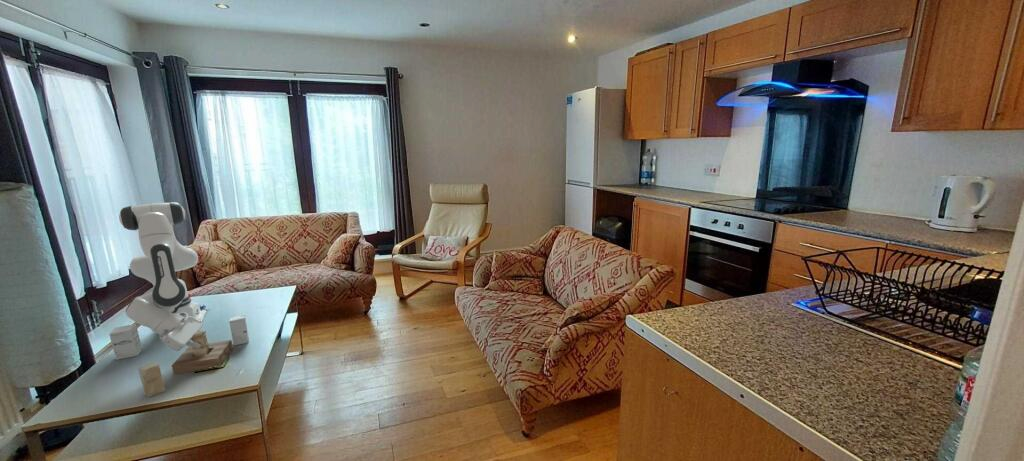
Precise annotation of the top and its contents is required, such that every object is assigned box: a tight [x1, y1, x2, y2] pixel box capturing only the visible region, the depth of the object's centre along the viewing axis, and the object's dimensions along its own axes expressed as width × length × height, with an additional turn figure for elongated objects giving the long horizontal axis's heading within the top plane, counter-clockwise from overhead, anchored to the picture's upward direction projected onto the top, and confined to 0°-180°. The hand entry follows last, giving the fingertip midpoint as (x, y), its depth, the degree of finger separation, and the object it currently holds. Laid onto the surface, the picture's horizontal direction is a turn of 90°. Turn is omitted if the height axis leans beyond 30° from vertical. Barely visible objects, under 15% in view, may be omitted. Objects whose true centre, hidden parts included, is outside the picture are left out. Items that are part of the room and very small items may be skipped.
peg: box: [191, 330, 210, 356], centre depth 172 cm, size 4×4×12 cm
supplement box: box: [109, 323, 143, 361], centre depth 180 cm, size 7×7×13 cm
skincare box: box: [228, 314, 250, 346], centre depth 187 cm, size 6×4×12 cm
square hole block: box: [171, 339, 234, 375], centre depth 173 cm, size 16×16×4 cm
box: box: [137, 361, 166, 398], centre depth 152 cm, size 5×4×11 cm
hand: (203, 343), depth 172 cm, fingers open, 4 cm apart
